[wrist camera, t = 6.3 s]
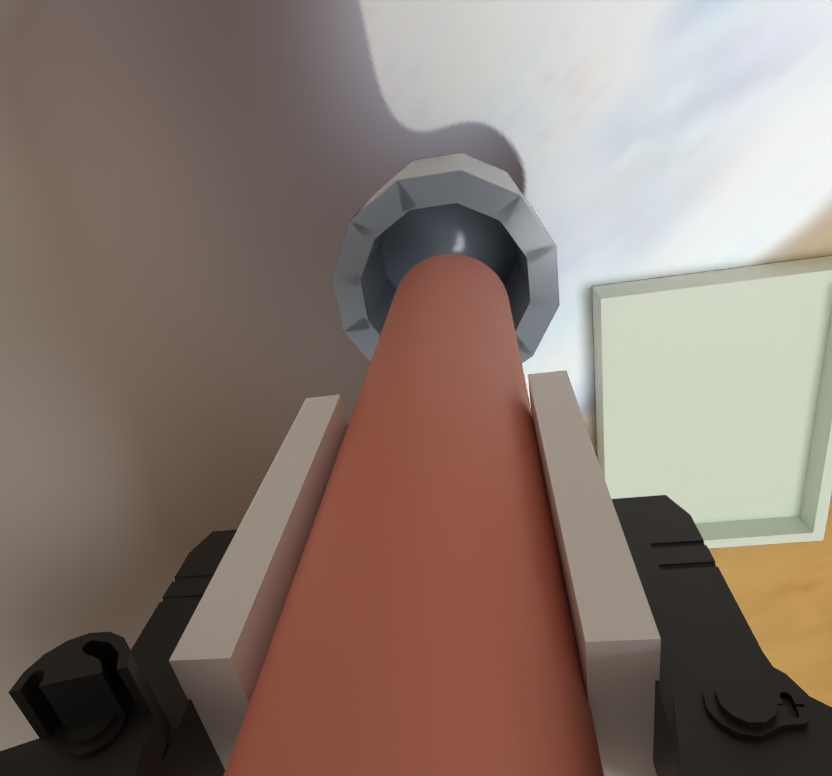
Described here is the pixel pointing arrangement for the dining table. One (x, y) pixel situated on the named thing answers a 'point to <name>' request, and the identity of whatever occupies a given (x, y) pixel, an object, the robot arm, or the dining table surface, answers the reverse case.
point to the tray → (721, 397)
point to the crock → (446, 244)
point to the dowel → (429, 570)
